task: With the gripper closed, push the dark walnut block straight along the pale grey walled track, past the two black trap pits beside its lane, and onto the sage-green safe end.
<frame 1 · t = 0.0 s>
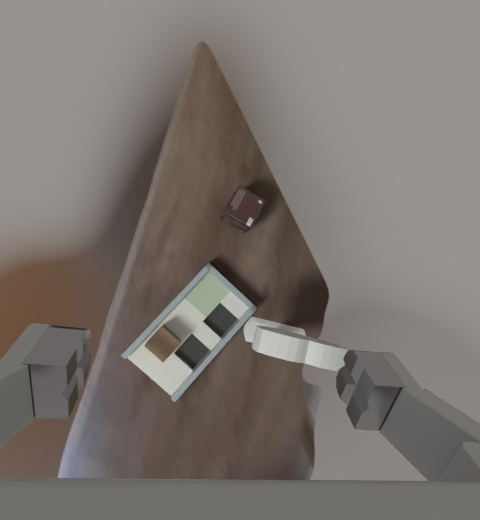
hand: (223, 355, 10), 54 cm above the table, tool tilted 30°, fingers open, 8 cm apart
box: (238, 214, 67), on the table
heart sculpture: (275, 334, 66), on the table
walnut block: (163, 341, 61), point 1 cm above the table, touching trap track
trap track: (189, 330, 63), on the table
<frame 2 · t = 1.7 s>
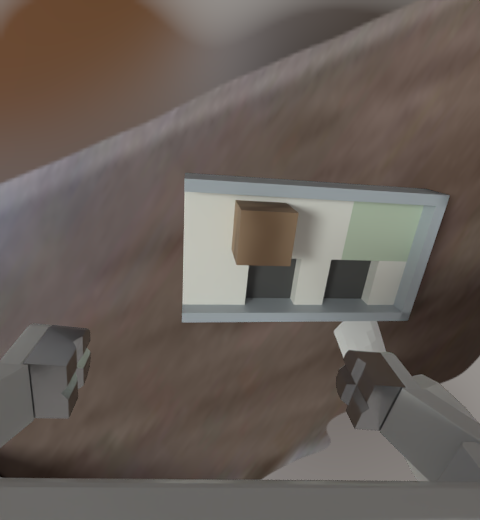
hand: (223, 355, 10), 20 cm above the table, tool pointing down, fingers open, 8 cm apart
heart sculpture: (365, 356, 39), on the table
walnut block: (258, 226, 28), point 1 cm above the table, touching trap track
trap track: (297, 248, 31), on the table
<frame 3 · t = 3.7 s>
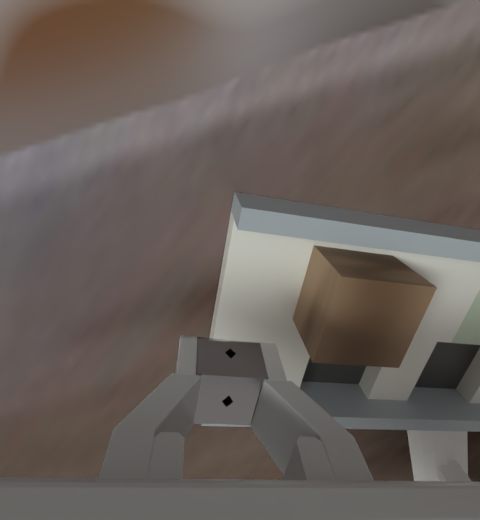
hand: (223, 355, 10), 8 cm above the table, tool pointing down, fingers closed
heart sculpture: (438, 457, 28), on the table
walnut block: (341, 288, 18), point 1 cm above the table, touching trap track
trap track: (384, 317, 21), on the table
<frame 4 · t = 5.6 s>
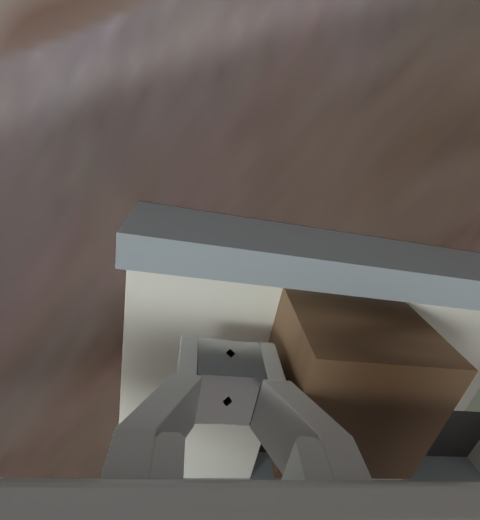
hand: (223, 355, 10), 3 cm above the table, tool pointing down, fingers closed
walnut block: (326, 344, 12), point 2 cm above the table, touching gripper, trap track
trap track: (372, 372, 15), on the table
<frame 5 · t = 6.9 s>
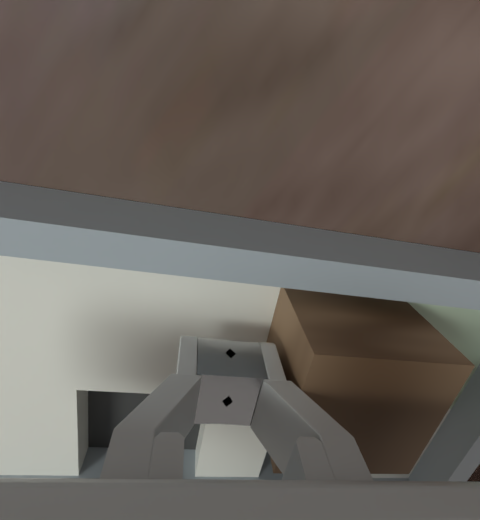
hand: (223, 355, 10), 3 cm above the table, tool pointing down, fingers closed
walnut block: (325, 341, 12), point 1 cm above the table, touching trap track
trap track: (211, 360, 14), on the table
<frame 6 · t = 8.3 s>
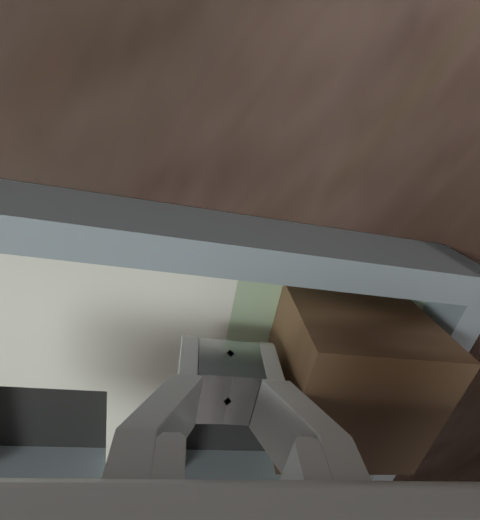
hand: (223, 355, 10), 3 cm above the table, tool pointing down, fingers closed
walnut block: (327, 340, 12), point 1 cm above the table, touching gripper, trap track
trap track: (117, 353, 13), on the table
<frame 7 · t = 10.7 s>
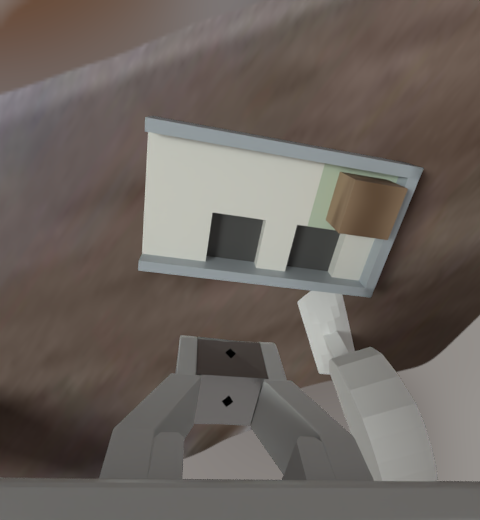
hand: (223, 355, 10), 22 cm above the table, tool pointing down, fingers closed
heart sculpture: (328, 332, 38), on the table
walnut block: (355, 200, 30), point 1 cm above the table, touching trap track
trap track: (265, 210, 31), on the table
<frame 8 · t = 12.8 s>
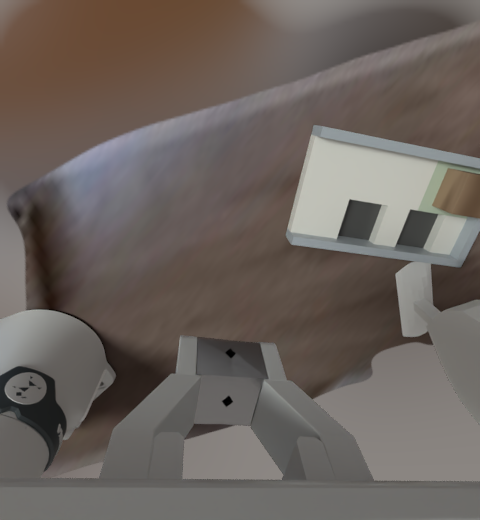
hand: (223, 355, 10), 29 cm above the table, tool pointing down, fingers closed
heart sculpture: (415, 300, 47), on the table
walnut block: (456, 190, 38), point 1 cm above the table, touching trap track
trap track: (383, 198, 40), on the table
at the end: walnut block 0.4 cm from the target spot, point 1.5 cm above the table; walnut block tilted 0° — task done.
